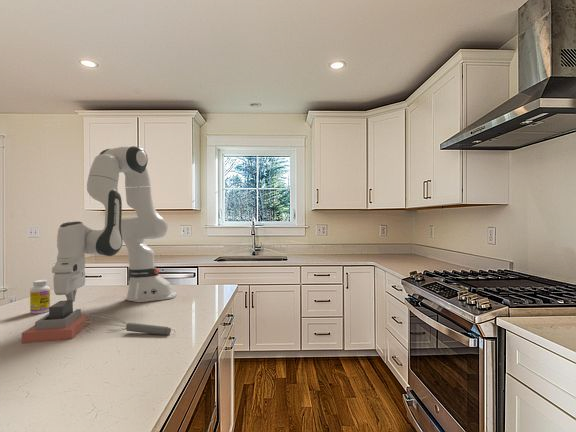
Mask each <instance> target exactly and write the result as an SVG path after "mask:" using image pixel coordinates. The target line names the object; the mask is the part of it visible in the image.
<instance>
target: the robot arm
mask: <svg viewBox="0 0 576 432" xmlns="http://www.w3.org/2000/svg"><path fill="white" fill-rule="evenodd" d="M148 159H149V158H148V155H147V152H146V151H145V150H144V149H143V147H139V146H119V147H114V148H107V149H103V150H102V151H101V152H100V153H99V154H97V156H95V158H94V159H93V161H92V164H91V166H90V169H89V173H88V176H87V182H86V191H87V194H88V195H89V196H90V197H91V198H92V199H94V200H95V201H98V202H99V203H101V204H103V206H104V210H105V213H104V227H103V229H102V230H101V229H99V230H98V229H92V228H90V227H88V226H86V225H85V224H84V223H83V222H82V221H67V222H63V223H62V224H60V225H59V227H58V230H57V237H56V248H57V251H58V253H57V256H56V262H55V264H54V265H53V266H52V268H51V274H53V279H52V281H53V282H52V283H53V292H54V294H55V295H56V296H65V298H66V300H73V303H74V302H75V301H76V297H77V292H78V289H79V288H81V287H83V286H86V285H85V283H86V271H85V269H86V255H94V256H95V255H97V256H98V255H99V256H106V257H112V256H116V254H117V253H118V252H120V250H121V248H122V246H123V243H124V244H125V246H126V248H127V249H126V250H127V251H128V263H129V264H128V266H129V267H128V270H127V280H128V288H127V293H126V297H125V298H126V299H125V300H126V301H129V302H130V301H131V302H135V303H144V302H152V301H153V302H154V301H164V300H171V299H173V298H175V297H177V291H175V290H172V284H171V282H170V281H168V279H166V278H164V277H163V276H162V275H160V268H159V267H158V268H157V267H155V252H154V249H152V248H151V247H150V246H148V245H147V243H146V240H155V239H159V238H163V237H164V236H166V234H167V232H168V222H167V221H166V219H165V218H164V217H162V216H161V214H159V212H158V211H157V210H156V208H155V205H154V202H153V197H152V196H153V195H152V186H151V179H150V175H149V170H148V168H147V165H148V161H149V160H148ZM120 173H123V174H124V184H125V185H124V186H125V199H126V201H125V202H126V204H127V206H128V207H129V208H131V209H133V211H134V212H135V214H136V215H135V216H133V215H131V216H124V217H122V216H123V215H122V212H123V210H122V207H123V205H122V204H123V203H122V202H123V201H122V196H121V194H120V193H119V191H118V189H119V188H118V186H119V185H118V184H119V179H120V178H119V177H120Z"/></svg>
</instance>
